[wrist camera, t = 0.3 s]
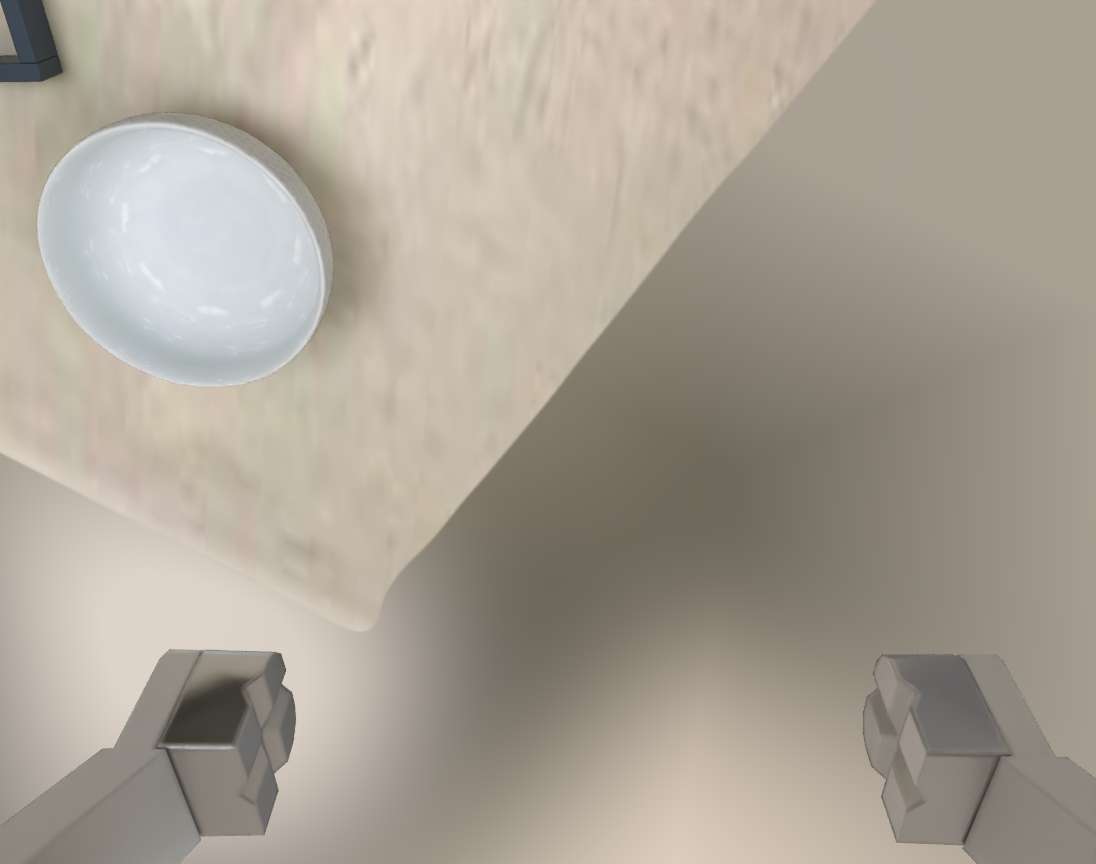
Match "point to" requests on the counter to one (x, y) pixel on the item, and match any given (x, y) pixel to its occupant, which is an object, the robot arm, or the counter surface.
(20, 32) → the tray
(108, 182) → the cereal bowl
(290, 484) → the counter surface
